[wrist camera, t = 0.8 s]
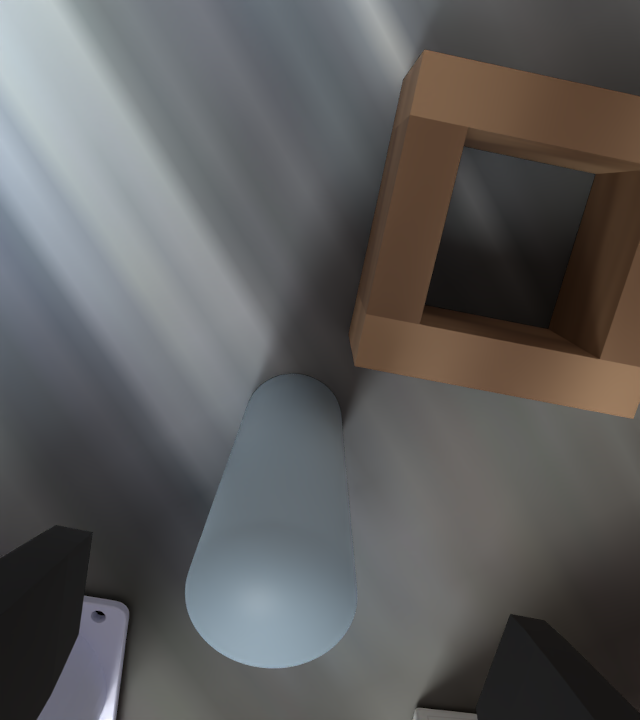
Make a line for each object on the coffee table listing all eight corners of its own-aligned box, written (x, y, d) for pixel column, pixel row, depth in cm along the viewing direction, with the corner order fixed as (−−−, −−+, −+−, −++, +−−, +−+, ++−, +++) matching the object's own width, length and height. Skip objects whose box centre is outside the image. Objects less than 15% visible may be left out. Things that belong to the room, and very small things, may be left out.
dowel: (238, 454, 20) (174, 653, 11) (254, 365, 19) (197, 506, 10) (331, 470, 20) (338, 680, 11) (350, 383, 19) (373, 537, 11)
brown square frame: (348, 334, 19) (354, 366, 15) (403, 79, 17) (424, 49, 13) (576, 378, 19) (633, 418, 16) (656, 134, 17) (742, 118, 14)
